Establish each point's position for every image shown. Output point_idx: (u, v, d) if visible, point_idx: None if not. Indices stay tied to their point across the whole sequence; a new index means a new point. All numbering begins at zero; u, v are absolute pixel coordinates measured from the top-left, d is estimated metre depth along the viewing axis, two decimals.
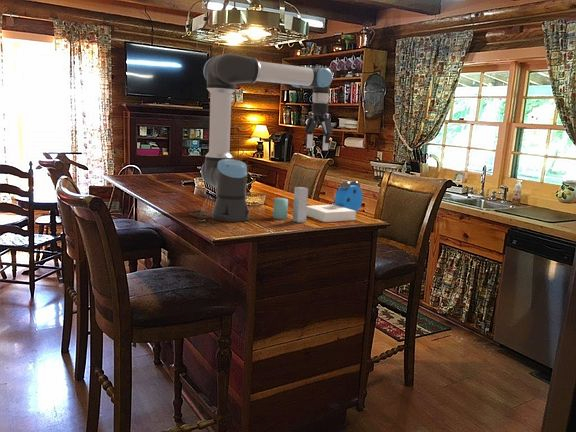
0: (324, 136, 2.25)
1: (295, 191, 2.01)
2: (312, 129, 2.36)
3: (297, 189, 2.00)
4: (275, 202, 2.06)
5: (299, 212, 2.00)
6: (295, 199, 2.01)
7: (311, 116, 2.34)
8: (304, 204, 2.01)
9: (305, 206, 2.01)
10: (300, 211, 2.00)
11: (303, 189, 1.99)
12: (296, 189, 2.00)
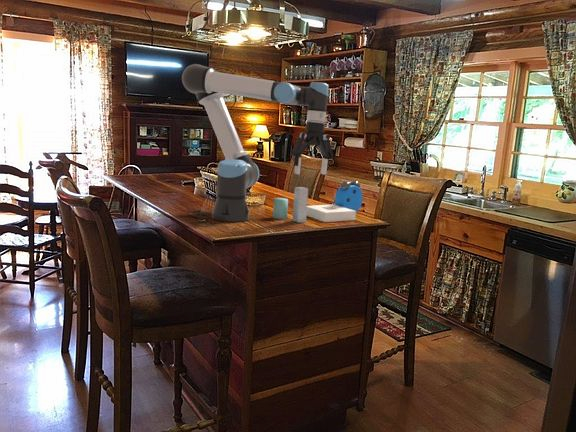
0: None
1: (295, 191, 2.01)
2: (323, 153, 2.05)
3: (297, 189, 2.00)
4: (275, 202, 2.06)
5: (299, 212, 2.00)
6: (295, 199, 2.01)
7: None
8: (304, 204, 2.01)
9: (305, 206, 2.01)
10: (300, 211, 2.00)
11: (303, 189, 1.99)
12: (296, 189, 2.00)
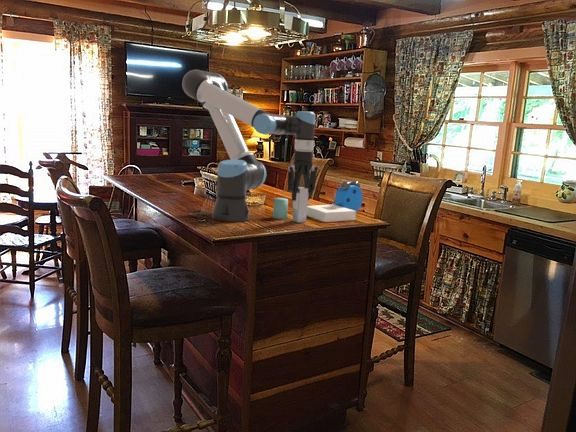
0: None
1: None
2: (306, 184, 2.01)
3: None
4: (275, 202, 2.06)
5: (299, 212, 2.00)
6: None
7: (311, 168, 2.03)
8: (304, 204, 2.01)
9: (305, 206, 2.01)
10: (300, 211, 2.00)
11: (303, 189, 1.99)
12: None
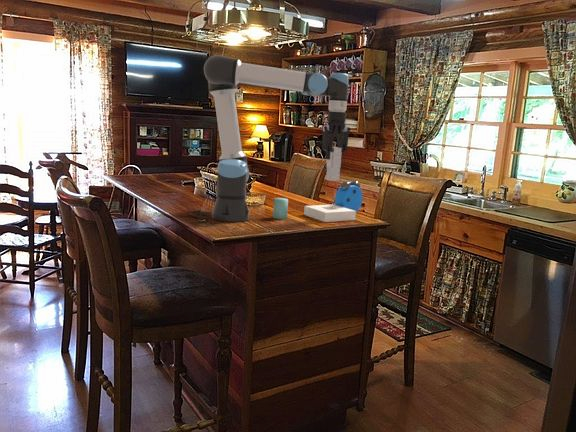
0: None
1: None
2: (339, 144, 2.11)
3: None
4: (275, 202, 2.06)
5: (333, 170, 2.10)
6: None
7: None
8: (337, 163, 2.10)
9: (338, 165, 2.10)
10: (334, 169, 2.10)
11: (337, 148, 2.08)
12: None
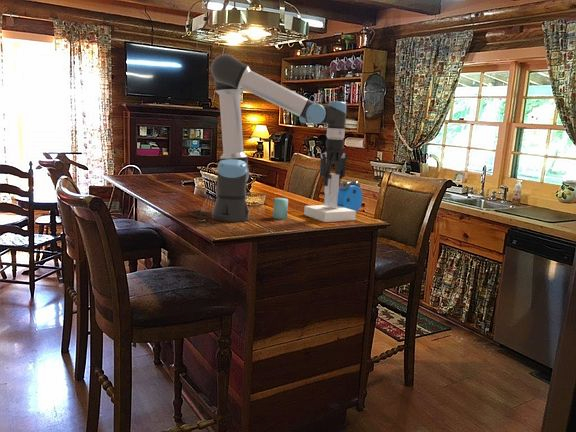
0: None
1: None
2: (337, 170, 2.13)
3: (329, 175, 2.11)
4: (275, 202, 2.06)
5: (331, 197, 2.12)
6: None
7: None
8: (335, 189, 2.12)
9: (336, 191, 2.13)
10: (331, 196, 2.12)
11: (335, 175, 2.11)
12: None
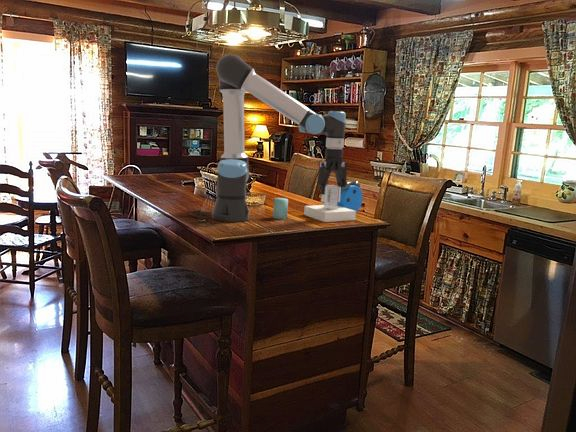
0: None
1: None
2: (338, 179, 2.14)
3: (328, 187, 2.12)
4: (275, 202, 2.06)
5: (330, 208, 2.13)
6: None
7: None
8: (334, 201, 2.13)
9: (335, 203, 2.14)
10: (330, 207, 2.13)
11: (334, 187, 2.12)
12: (327, 187, 2.13)
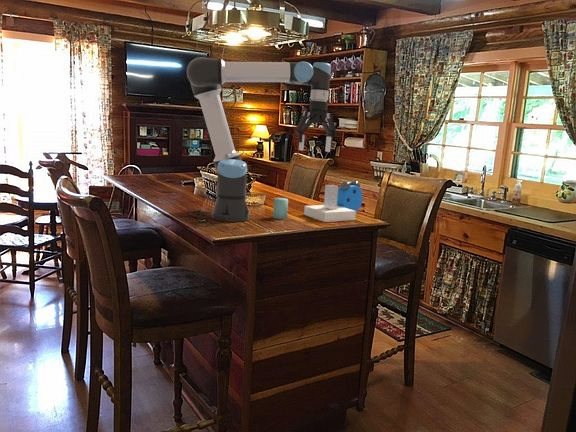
0: None
1: (326, 189, 2.13)
2: (327, 131, 2.15)
3: (328, 187, 2.12)
4: (275, 202, 2.06)
5: (330, 208, 2.13)
6: (326, 197, 2.14)
7: (326, 116, 2.15)
8: (334, 201, 2.13)
9: (335, 203, 2.14)
10: (330, 207, 2.13)
11: (333, 187, 2.12)
12: (327, 187, 2.13)
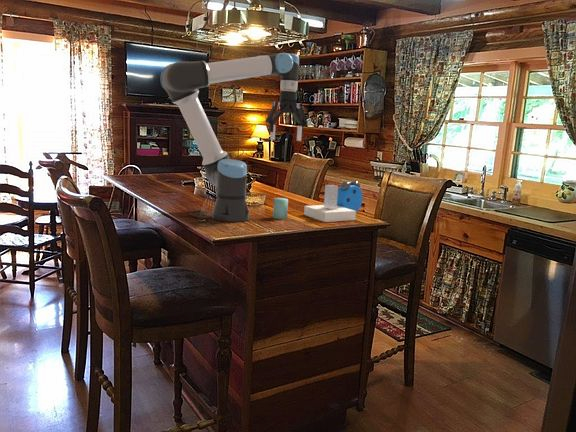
0: None
1: (326, 189, 2.13)
2: (297, 120, 2.20)
3: (328, 187, 2.12)
4: (275, 202, 2.06)
5: (330, 208, 2.13)
6: (326, 197, 2.14)
7: (296, 106, 2.20)
8: (334, 201, 2.13)
9: (335, 203, 2.14)
10: (330, 207, 2.13)
11: (333, 187, 2.12)
12: (327, 187, 2.13)
